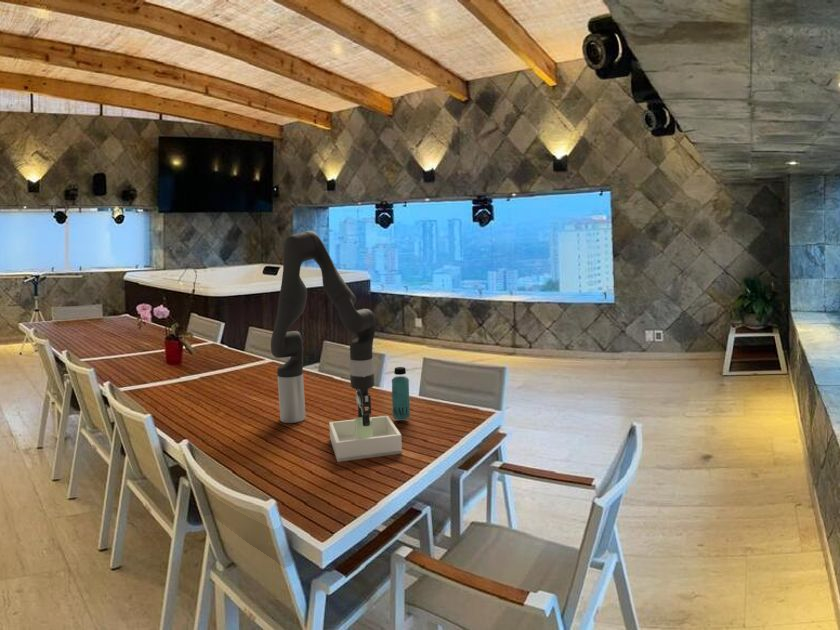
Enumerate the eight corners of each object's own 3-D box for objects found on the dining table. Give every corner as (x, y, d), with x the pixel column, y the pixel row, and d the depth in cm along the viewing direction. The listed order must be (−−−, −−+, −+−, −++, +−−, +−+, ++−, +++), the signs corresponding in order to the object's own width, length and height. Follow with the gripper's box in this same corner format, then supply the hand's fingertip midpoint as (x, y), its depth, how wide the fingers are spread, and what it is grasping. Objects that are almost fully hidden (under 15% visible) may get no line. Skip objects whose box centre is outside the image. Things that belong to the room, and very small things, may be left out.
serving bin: (330, 439, 189) (329, 422, 188) (388, 432, 194) (387, 415, 193) (337, 461, 170) (336, 442, 169) (402, 453, 175) (401, 434, 174)
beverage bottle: (402, 417, 210) (400, 364, 207) (414, 420, 205) (412, 367, 202) (388, 421, 205) (386, 367, 203) (401, 425, 201) (399, 370, 198)
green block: (355, 441, 183) (354, 417, 182) (370, 439, 185) (369, 416, 184) (358, 446, 179) (357, 422, 178) (373, 444, 180) (372, 420, 179)
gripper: (347, 368, 184) (349, 415, 187) (353, 379, 171) (355, 430, 173) (369, 366, 186) (371, 413, 189) (378, 376, 173) (379, 427, 175)
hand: (363, 421), depth 181 cm, fingers open, 8 cm apart
